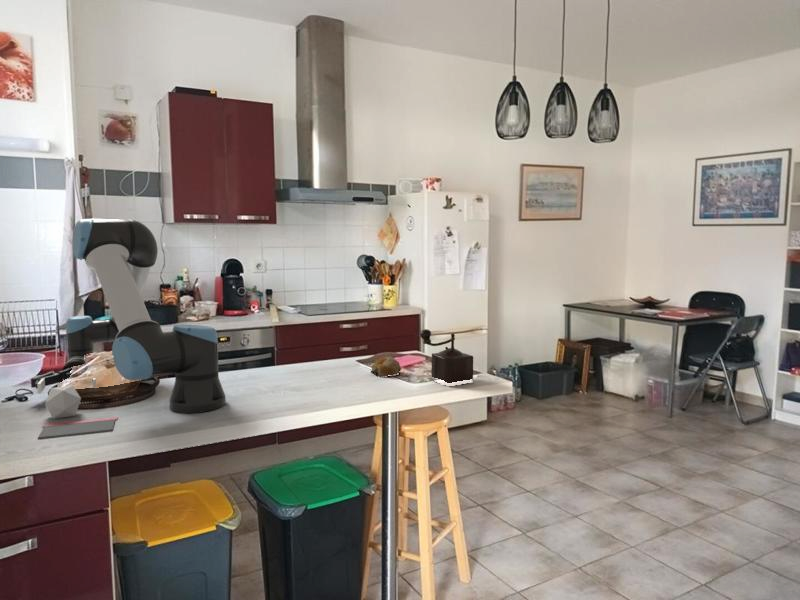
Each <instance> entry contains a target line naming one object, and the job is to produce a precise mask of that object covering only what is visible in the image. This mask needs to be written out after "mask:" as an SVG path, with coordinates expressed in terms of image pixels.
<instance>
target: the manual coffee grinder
mask: <svg viewBox="0 0 800 600" xmlns="http://www.w3.org/2000/svg"><path fill="white" fill-rule="evenodd" d="M450 334H451V335H450V339H447V340H444V341H441V342H437V343H436V342H435V343H432V340H431V336H432V331H431V330H429V329H426V328H425V329H422V330H421V331H419V336H420V338H421V339H422V341H423V342H422V344H424V345H427V346H431V347H438V346H442V345H445V344H449V343H450V348H449V347H447V346H445V349H444V350H441V351H439V352H435V353H433V352H432V353H431V374H430V375H431V376H432V377H434V378H438V379H441V380H444V381H445V382H447V383H452V382H457V381H463V380H470V379H473V380H474V356H473V355H471V354H468V353H464V352H461V351H460V350H459V349H456V348H455V340H456V337H455V336H456V335H455V333H454V332H453V333H450Z"/></svg>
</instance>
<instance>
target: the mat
mask: <svg viewBox="0 0 800 600" xmlns="http://www.w3.org/2000/svg"><path fill="white" fill-rule="evenodd" d="M115 423H116V420H108V421H98V422H88V423H79V424H69V425H59V426H49V427H44V428H43V427H42V428H43V429H42V430H41V432H40V433H39V434H38V436H37V439H38V440H41V439H48V438H49V439H51V438H60V437H69V436H77V435H85V434H95V433H105V432H112V431H114V425H115Z"/></svg>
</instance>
